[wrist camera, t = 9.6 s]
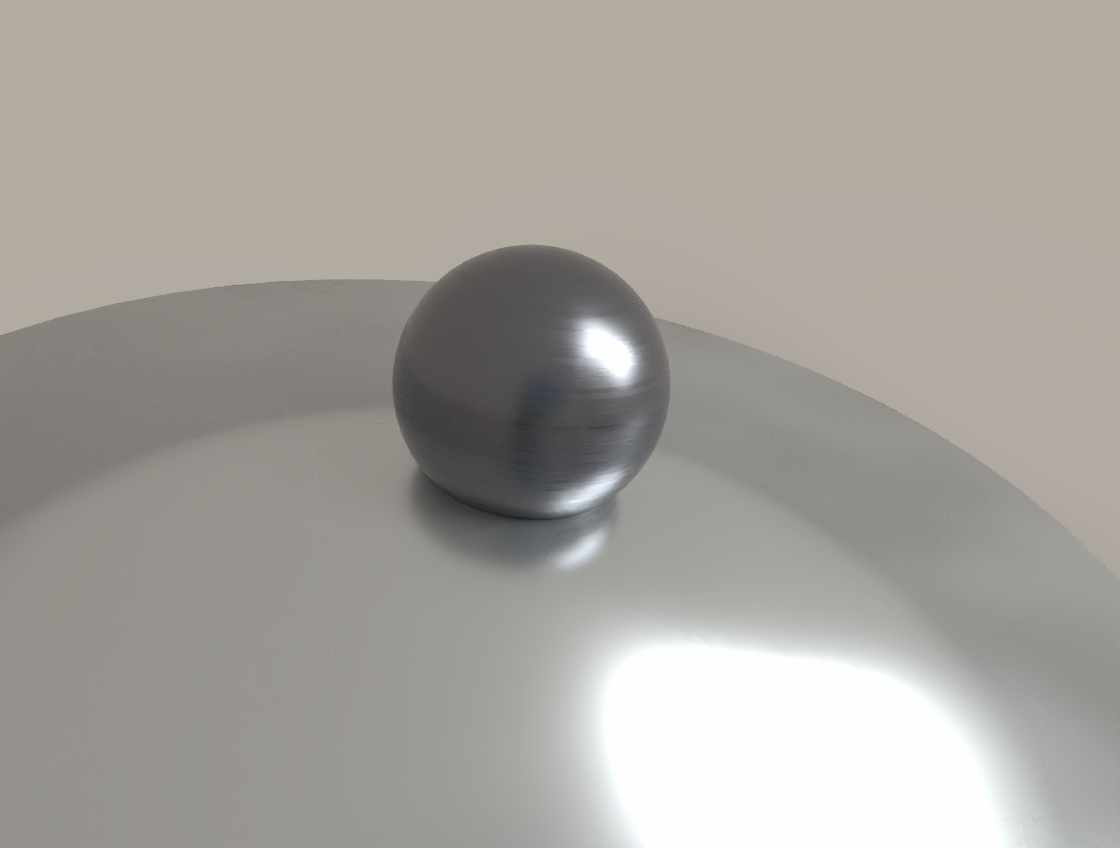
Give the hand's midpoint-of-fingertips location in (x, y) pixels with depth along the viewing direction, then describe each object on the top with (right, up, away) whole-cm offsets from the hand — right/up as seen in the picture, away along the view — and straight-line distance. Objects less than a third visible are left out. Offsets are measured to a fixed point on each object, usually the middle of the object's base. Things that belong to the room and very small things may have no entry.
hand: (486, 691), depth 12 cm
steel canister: (-1, -7, +1) cm, 7 cm away
